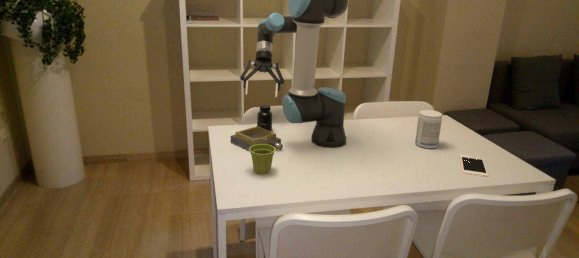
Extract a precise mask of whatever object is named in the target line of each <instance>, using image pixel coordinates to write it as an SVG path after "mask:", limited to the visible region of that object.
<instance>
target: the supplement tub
mask: <svg viewBox="0 0 579 258" xmlns="http://www.w3.org/2000/svg"><path fill="white" fill-rule="evenodd" d="M442 121H443V114H442V113H441V111H437V110H432V109H423V110H419V113H418V117H417V125H416V132H415V133H416V134H415V140H414V142H415V145H416V146H417V147H420V148H423V149H430V150H431V149H436V148H437V147H438V146H439V140H440V133H441V128H442Z"/></svg>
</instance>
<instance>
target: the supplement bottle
mask: <svg viewBox="0 0 579 258" xmlns="http://www.w3.org/2000/svg"><path fill="white" fill-rule="evenodd" d="M271 108H272V107H271V105H268V104H261V105H259V111H258V112H257V115H256V126H258V127H261V128H263V129H266V130H268V131H271V132H273V131H272V130H273V112H272V111H271Z"/></svg>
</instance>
